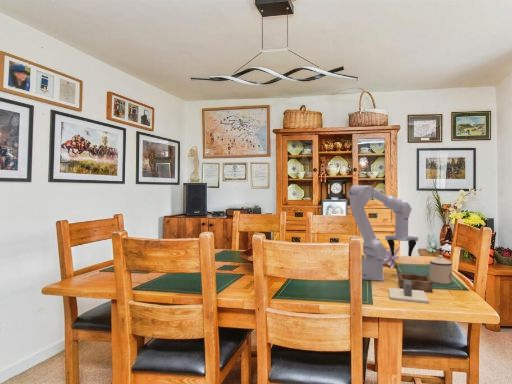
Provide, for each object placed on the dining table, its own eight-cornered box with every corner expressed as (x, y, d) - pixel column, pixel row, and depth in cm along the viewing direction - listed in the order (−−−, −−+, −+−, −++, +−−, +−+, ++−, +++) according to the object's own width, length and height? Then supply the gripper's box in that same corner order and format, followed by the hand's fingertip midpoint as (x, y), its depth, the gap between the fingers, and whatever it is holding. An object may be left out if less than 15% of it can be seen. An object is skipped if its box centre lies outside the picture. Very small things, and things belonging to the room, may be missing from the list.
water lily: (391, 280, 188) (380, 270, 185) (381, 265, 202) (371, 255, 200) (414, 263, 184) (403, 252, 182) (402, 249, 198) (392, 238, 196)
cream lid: (390, 300, 134) (390, 285, 134) (388, 290, 147) (388, 276, 147) (428, 304, 130) (429, 288, 130) (423, 293, 143) (424, 279, 143)
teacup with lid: (454, 285, 155) (455, 258, 155) (431, 283, 157) (432, 257, 157) (446, 278, 167) (447, 253, 166) (425, 276, 169) (426, 252, 169)
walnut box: (400, 289, 147) (400, 279, 147) (398, 282, 159) (398, 273, 159) (432, 292, 144) (432, 282, 144) (428, 284, 155) (428, 275, 155)
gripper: (387, 227, 167) (387, 256, 167) (420, 228, 165) (419, 258, 165) (384, 226, 174) (384, 254, 174) (415, 226, 172) (415, 255, 172)
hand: (401, 255), depth 170 cm, fingers open, 7 cm apart
